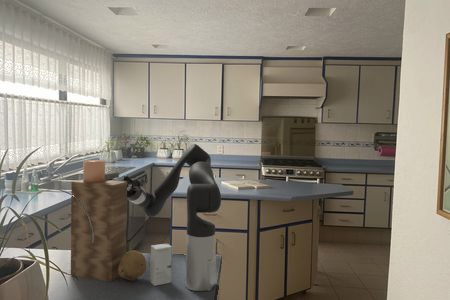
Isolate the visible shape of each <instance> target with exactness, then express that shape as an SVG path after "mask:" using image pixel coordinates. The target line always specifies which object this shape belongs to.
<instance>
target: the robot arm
mask: <svg viewBox="0 0 450 300" xmlns="http://www.w3.org/2000/svg"><path fill="white" fill-rule="evenodd" d="M185 165H187V166H189V167H190V168H189V170H188V177H189V180H188V181H189V183H190V184H189V185H188V187H187V190H186V215H187V217H186V218H187V220H186V247H185V248H186V249H185V251H186V252H185V280H184V281H185V285H184V286H185V288H187V289H188V290H191V291H194V292H204V291H209V292H210V291H211V290H212V289H213V287H214V286H215V285H216V281H217V280H216V279H217V254H215V249H216V244H215V243H216V225H215V224H214V223H213V222H211V221H208V220H205V219H202V217H200V216H199V215H198V214H205V213H208V214H209V213H211V214H212V213H216V212H218V211H219V209H220V207H221V204H222V194H221V191H220V188H219V185H218V184H217V182H216V180H215V176H214V172H213V169H212V159H211V156H210V154H209V153H208V152H207V151H205V150H204V149H203V148H202V147H201V146H199V144H196V143H193V144H192V145H190V146H189V147H188V148H187V149H186V150H185V151H184V152H183V154H182V155H181V156H180V158H178V160H177V161H176V162H175V164H174V166H173V167H172V168H171V170H170V172H168V174H167V175H166V177H164V179H163V180H162V181H161V182H160V183H159V185H157V186H156V187H155V189H154V190H153V191H154V195H153V194H152V193H151V192H147V190H145V188H143V187H144V185H143V183H141V182H140V181H139V180H138V179H134V178H130V177H129V176H128V175H124V177H123V180H122V179H120V178H114V179H109V180H111V181H124V182H127V201H129V202H131V203H132V204H135V205H136V206H138V207H139V208H142V210H143V211H144V213H145V214H146V216H147V217H148V218H153V217H156V216H158V215H159V214H160V212H161V211H162V209H163V208H164V206H165V204H166V202H167V200H168V199H169V198H170V196H171V195H173V193H174V192H176V190H177V188H178V186H179V182H180V177H181V172H182V169H183V167H184V166H185Z"/></svg>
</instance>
